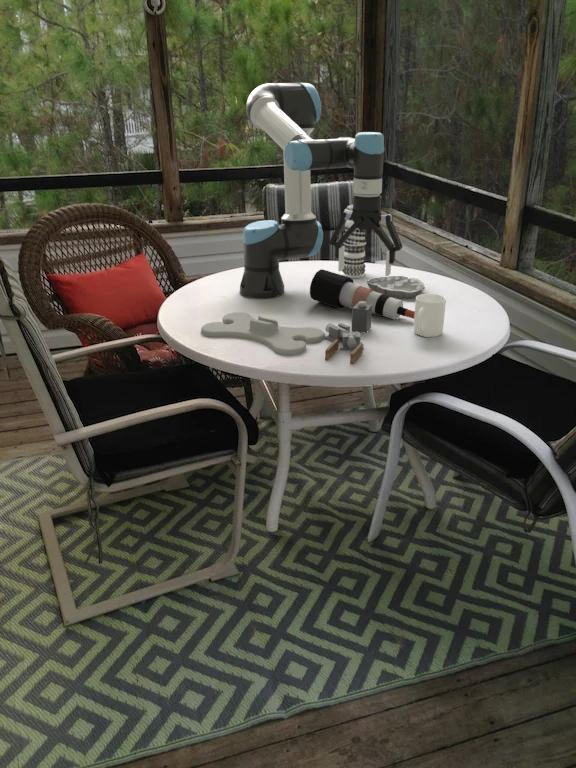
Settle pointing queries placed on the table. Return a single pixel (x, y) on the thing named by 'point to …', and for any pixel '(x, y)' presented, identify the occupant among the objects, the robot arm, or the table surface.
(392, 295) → the brain slice
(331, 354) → the end holder
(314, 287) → the cable
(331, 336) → the clip
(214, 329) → the holder
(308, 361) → the table surface
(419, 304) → the mug
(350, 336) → the clip
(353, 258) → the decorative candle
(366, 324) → the block
